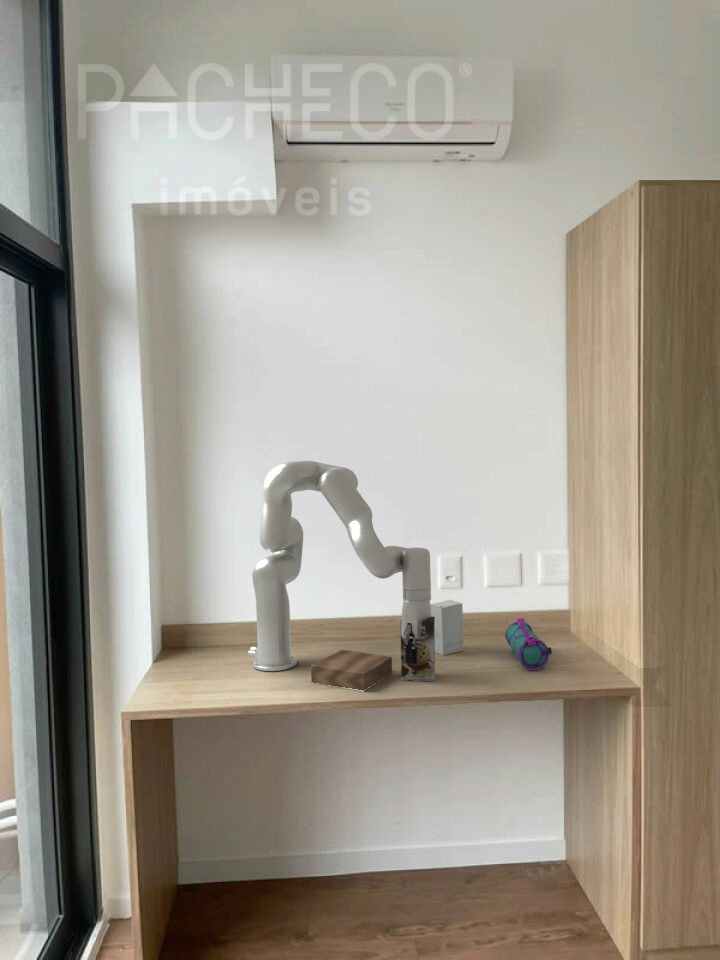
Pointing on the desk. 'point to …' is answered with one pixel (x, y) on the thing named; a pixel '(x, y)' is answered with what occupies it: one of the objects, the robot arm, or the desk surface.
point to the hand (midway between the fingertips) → (418, 658)
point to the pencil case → (527, 645)
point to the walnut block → (351, 669)
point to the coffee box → (421, 655)
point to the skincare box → (448, 626)
